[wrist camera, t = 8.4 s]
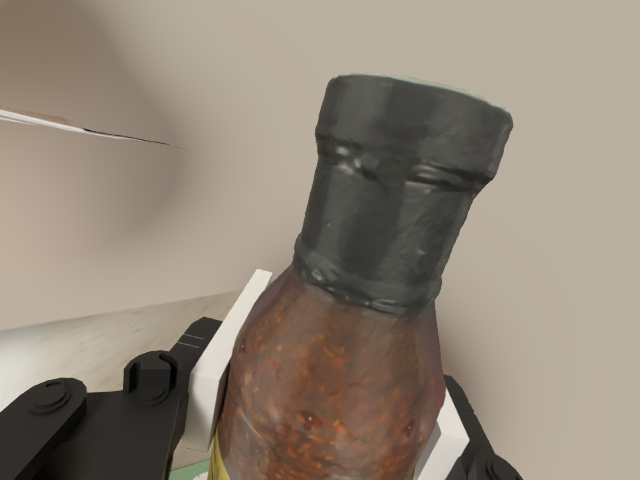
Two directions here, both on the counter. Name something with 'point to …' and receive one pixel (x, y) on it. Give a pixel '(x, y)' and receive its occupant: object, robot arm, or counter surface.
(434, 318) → the sauce bottle
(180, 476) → the putting mat
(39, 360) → the counter surface
